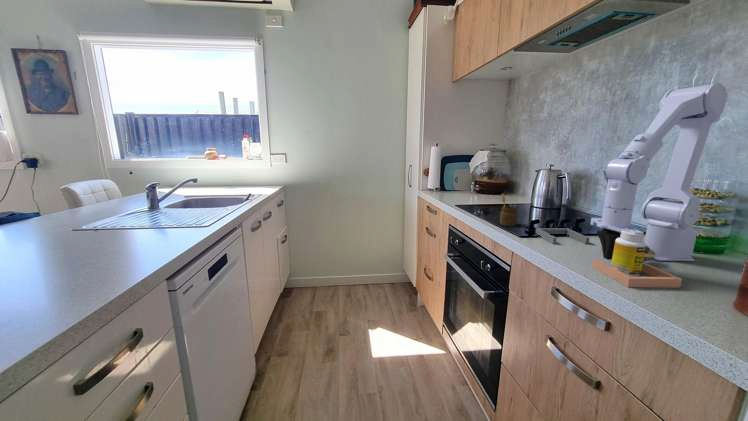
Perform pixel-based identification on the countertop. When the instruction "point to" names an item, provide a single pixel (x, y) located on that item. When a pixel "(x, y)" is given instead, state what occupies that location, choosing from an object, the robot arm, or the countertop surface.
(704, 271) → the countertop surface
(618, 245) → the supplement bottle
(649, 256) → the balance beam
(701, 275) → the countertop surface
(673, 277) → the frame
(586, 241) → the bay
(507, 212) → the utensil holder
